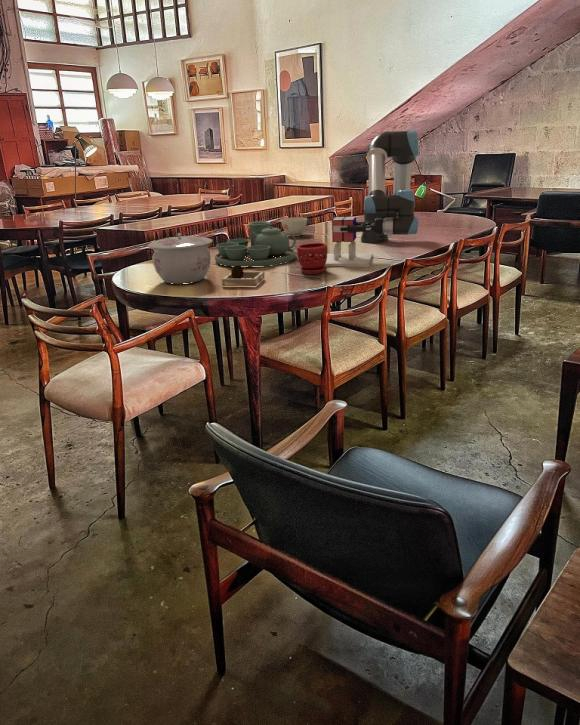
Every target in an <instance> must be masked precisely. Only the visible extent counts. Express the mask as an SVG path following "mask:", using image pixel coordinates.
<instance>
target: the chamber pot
mask: <svg viewBox="0 0 580 725" xmlns="http://www.w3.org/2000/svg"><path fill="white" fill-rule="evenodd" d="M212 243H213V239H211V238H209V237H205V236H195V235H185V236H183V235H182V236H181V232H178V233H177V236H172V237H165V238H161V239H157V240H154V241H152V242H149V243H148V244H147V248H149V249H150V250H153V254H152V257H151V258H152V259H151V260H152V264H153V267H154V270H155V273H156V274H157V275H158V276H159V277H160V279H161V280H162V281H163V282H165V283H166V282H167V284H170V283H173V284H172V285H174V284H183V283H191V282H196V281H198V282H200V281H202V280H204V279H205V278H206V276H207V274H208V271H209V270H210V267H211V251H210V249H209V247H208V245H210V244H212ZM196 283H197V282H196Z"/></svg>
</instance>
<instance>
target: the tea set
mask: <svg viewBox="0 0 580 725" xmlns="http://www.w3.org/2000/svg"><path fill="white" fill-rule="evenodd" d="M270 224H271V221H264V220H263V221H262V220H261V221H260V220H259V221H253V222H248V226H249V235H250V236H249V237H250V238H249V239H250V241H249V239H247V238H233V239H229V240H227V241H226V242H222V243H221V242H220V243H218V244H216V245H215V246H216V248H217V251H218V253H217V254H215V255H214V260H215V262H216V261H217V262H216V263H217V264H218V265H219V264H222V265H226V266H235V265H240V266H248V267H252V266H270V265H275V264H280V263H285V262H287V263H289V262H288V261H290V260H292V259H294V260H295V258H296V251H295V249H294V247H295V245H296V242H297V239H296V237H295V236H294V235H293V234H291V233H286V232H285V233H283V232H282V230H281V229H280V228H278V227H273V226H271V225H270ZM289 235H291V236H292V237H291V238H292V239H293V243H292V245H290V243H291V242H290V238H289ZM249 242H250V246H248V245H249V244H248V243H249ZM245 256H246V257H245ZM273 256H274V257H273ZM280 256H281V257H280ZM247 257H248V258H247ZM275 257H276V258H275ZM249 258H250V259H249ZM244 259H245V260H244ZM251 259H252V260H251ZM246 260H247V261H246ZM253 260H254V261H253ZM292 261H293V260H292ZM290 262H291V261H290ZM285 264H286V263H285ZM280 265H281V264H280ZM226 266H225V267H226ZM275 266H276V265H275ZM270 267H271V266H270Z"/></svg>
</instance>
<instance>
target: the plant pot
mask: <svg viewBox="0 0 580 725" xmlns="http://www.w3.org/2000/svg"><path fill="white" fill-rule="evenodd" d="M296 252H297V259H298V262H299V265H300V266H301V267H300V271H301V272H302V273H303V274H306V273H307V275H317V274H322V273H324V272H326V271H327V270H328V267H326V266H325V264H326V260H327V253H328V245H327V243H324V242H311V243H310V242H309V243H304V244H299V245H297V247H296Z"/></svg>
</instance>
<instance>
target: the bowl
mask: <svg viewBox="0 0 580 725" xmlns="http://www.w3.org/2000/svg"><path fill="white" fill-rule="evenodd" d="M280 223H281V227H282V229H283V232H285V234H286V233H291V234H293V235H294V236H298V237H300V236H301V234H302V233H304V232H305V230H306V228H307V225H308V224H307V223H308V218H307V217H301V216H300V217H299V216H298V217H297V216H296V217H294V216H293V217H285V218H281V219H280ZM290 236H291V235H288V237H290Z"/></svg>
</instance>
